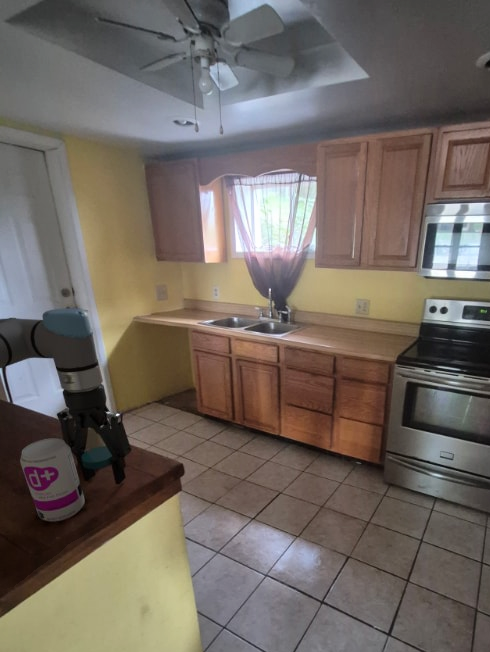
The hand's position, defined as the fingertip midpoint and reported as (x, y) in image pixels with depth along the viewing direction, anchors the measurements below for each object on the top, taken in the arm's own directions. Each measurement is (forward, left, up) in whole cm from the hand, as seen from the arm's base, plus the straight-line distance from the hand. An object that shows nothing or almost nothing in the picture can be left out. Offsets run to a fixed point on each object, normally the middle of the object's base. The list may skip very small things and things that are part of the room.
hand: (105, 479), depth 85 cm
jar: (-8, +8, -1) cm, 11 cm away
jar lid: (0, 0, +6) cm, 6 cm away
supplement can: (-3, -10, -1) cm, 10 cm away
